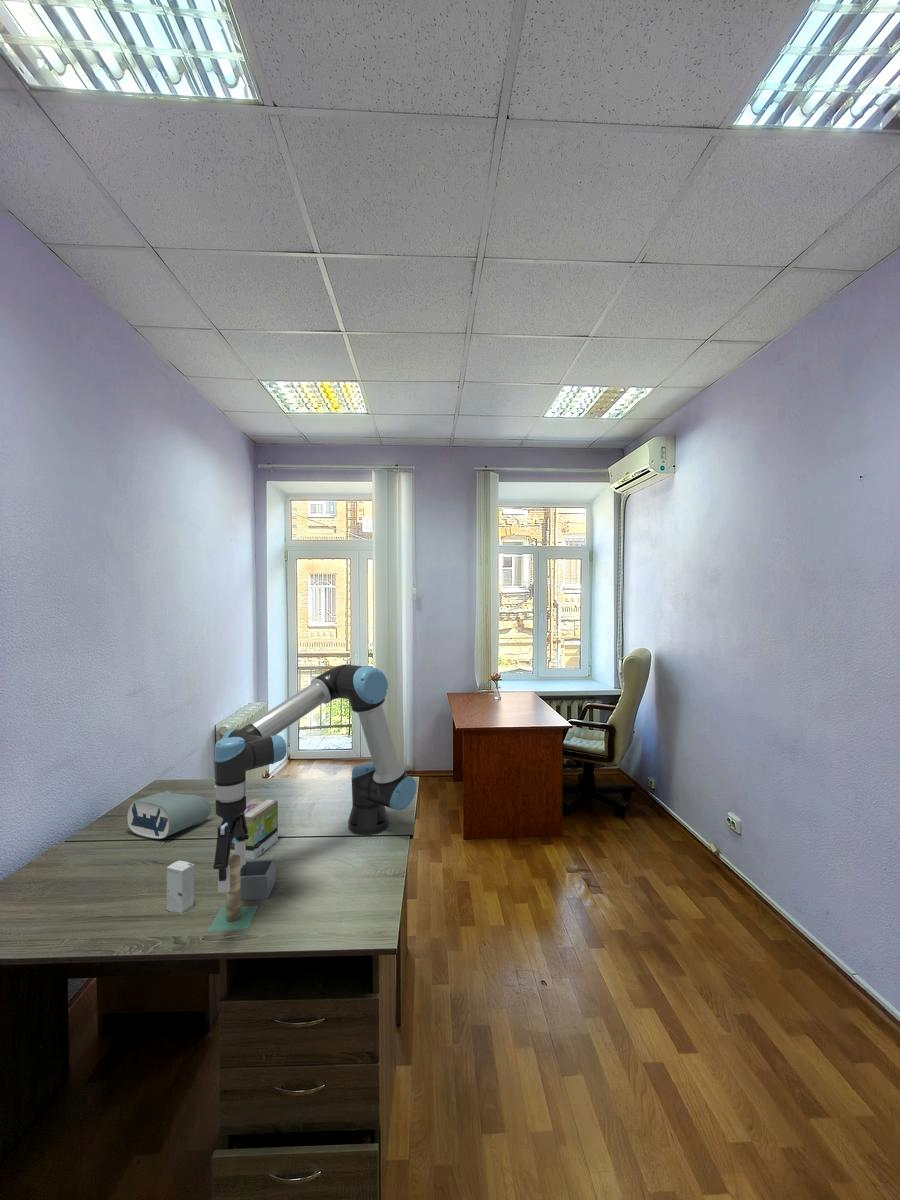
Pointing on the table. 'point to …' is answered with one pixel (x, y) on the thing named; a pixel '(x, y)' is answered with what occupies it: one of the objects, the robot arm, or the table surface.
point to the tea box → (259, 827)
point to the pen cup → (257, 879)
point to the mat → (242, 923)
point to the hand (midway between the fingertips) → (232, 877)
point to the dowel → (234, 891)
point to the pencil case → (166, 814)
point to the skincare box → (180, 886)
